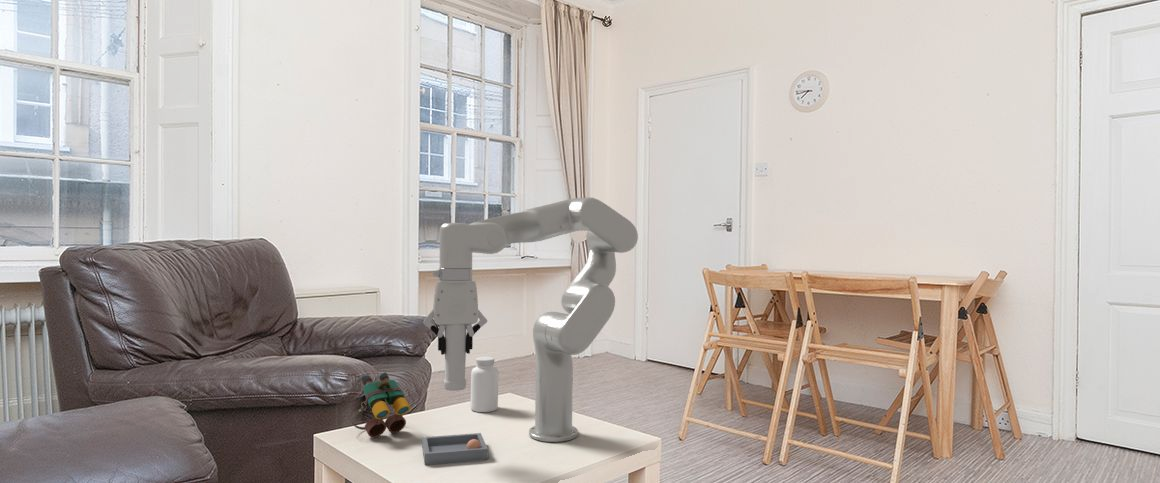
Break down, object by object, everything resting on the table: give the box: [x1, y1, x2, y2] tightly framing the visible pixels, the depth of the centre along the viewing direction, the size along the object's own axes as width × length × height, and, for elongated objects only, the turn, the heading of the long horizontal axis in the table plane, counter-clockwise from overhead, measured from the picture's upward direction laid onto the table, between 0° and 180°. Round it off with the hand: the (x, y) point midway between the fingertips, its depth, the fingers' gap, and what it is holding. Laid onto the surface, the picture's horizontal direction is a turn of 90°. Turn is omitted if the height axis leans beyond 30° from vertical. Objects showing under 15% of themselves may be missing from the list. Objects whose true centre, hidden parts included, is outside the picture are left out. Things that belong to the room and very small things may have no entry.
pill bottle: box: [470, 356, 499, 413], centre depth 191 cm, size 8×8×15 cm
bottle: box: [443, 324, 467, 392], centre depth 152 cm, size 5×5×25 cm
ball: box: [467, 439, 481, 449], centre depth 151 cm, size 3×3×3 cm
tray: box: [421, 432, 489, 466], centre depth 153 cm, size 12×14×2 cm
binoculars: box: [350, 372, 411, 438], centre depth 169 cm, size 14×14×15 cm
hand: (455, 352), depth 153 cm, fingers closed on bottle, 5 cm apart
